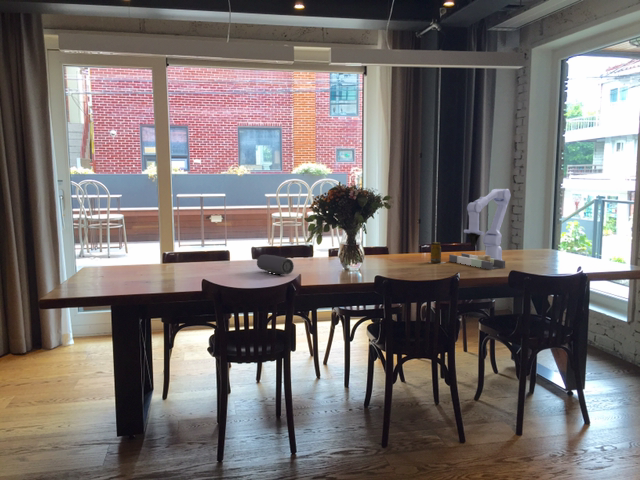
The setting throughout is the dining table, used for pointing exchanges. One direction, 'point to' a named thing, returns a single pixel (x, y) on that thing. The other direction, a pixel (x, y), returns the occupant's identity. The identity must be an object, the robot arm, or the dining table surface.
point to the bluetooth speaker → (275, 264)
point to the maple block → (484, 257)
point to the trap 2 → (496, 267)
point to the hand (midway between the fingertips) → (473, 246)
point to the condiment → (436, 253)
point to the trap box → (476, 261)
